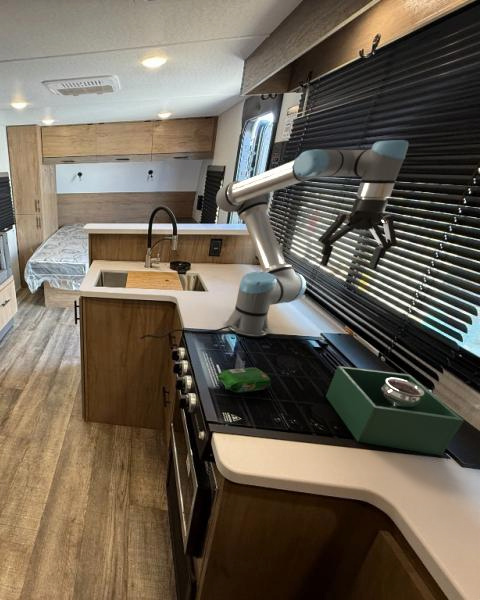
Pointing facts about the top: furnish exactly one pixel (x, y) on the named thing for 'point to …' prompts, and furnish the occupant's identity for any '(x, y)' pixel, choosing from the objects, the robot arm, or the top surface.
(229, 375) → the snack package
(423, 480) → the top surface
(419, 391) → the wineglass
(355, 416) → the open green storage bin
